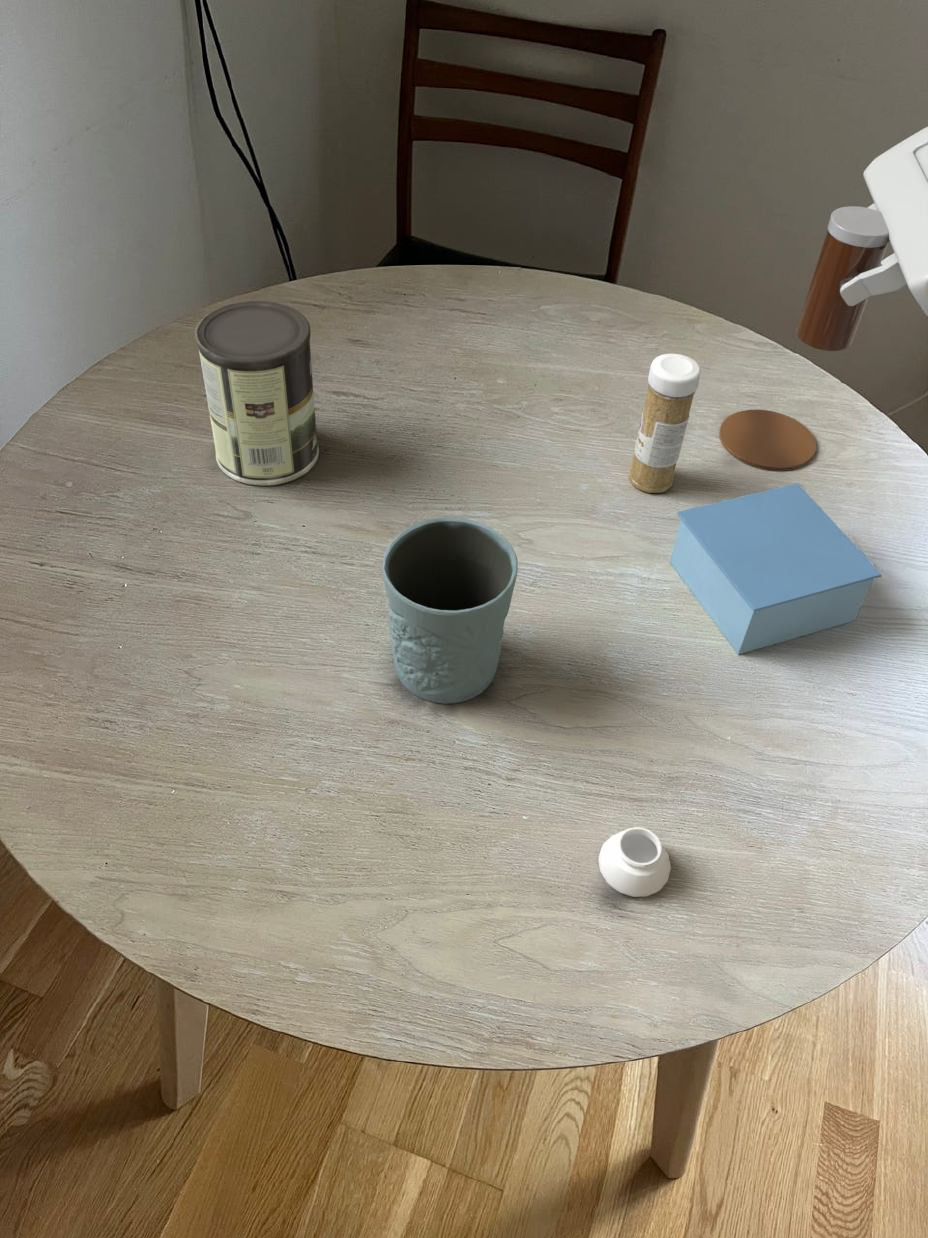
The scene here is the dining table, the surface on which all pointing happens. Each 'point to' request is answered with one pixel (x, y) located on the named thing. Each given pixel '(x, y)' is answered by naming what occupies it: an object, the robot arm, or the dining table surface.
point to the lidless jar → (634, 862)
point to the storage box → (770, 567)
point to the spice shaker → (841, 277)
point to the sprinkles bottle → (663, 421)
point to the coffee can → (259, 391)
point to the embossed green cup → (448, 606)
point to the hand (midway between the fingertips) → (836, 276)
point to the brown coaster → (767, 440)
